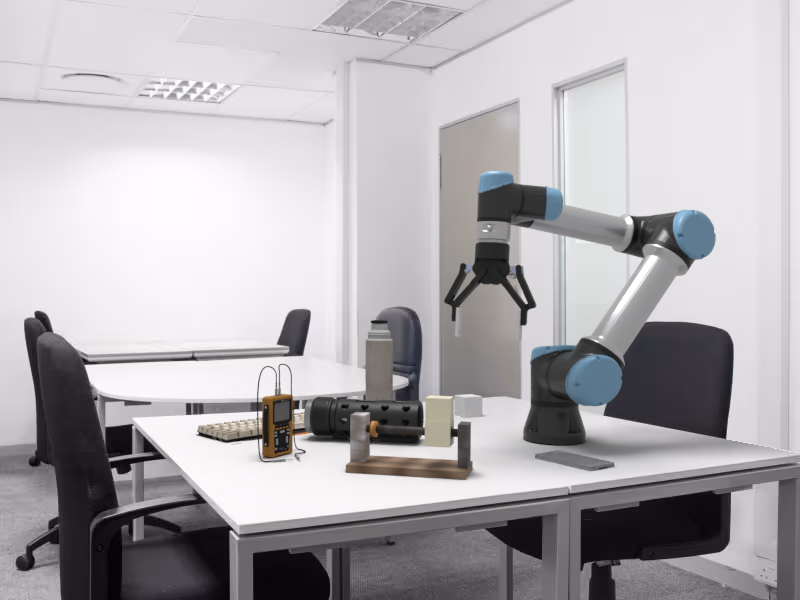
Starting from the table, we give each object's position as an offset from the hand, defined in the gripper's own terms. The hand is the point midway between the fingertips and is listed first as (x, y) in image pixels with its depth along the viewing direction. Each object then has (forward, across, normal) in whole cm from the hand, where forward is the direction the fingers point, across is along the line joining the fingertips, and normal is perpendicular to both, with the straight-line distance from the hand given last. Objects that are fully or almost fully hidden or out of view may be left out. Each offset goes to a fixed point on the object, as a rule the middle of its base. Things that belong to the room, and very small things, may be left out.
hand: (487, 338), depth 172 cm
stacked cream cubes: (+21, -4, -18) cm, 28 cm away
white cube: (+25, -18, +55) cm, 63 cm away
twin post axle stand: (+27, -10, -19) cm, 34 cm away
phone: (+26, +20, +2) cm, 32 cm away
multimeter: (+28, -38, -16) cm, 50 cm away
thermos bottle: (+26, -42, +44) cm, 66 cm away
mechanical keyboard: (+28, -58, +11) cm, 66 cm away
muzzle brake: (+27, -32, +8) cm, 42 cm away
